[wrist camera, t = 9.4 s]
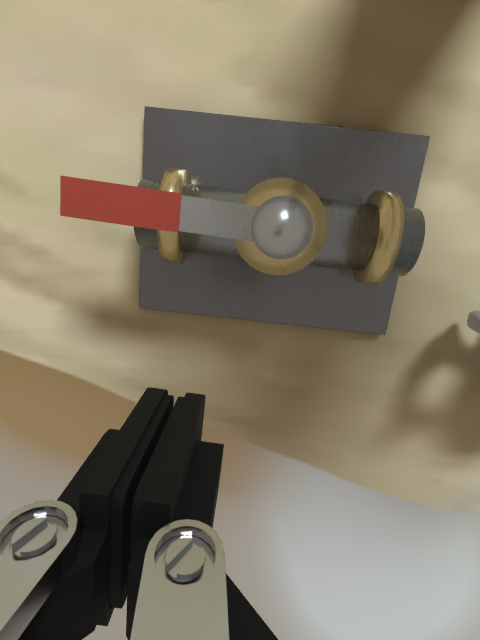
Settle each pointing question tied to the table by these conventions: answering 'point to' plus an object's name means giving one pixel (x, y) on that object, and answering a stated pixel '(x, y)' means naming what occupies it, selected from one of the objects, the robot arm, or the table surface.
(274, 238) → the lever
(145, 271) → the valve body
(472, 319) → the mug
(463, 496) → the table surface
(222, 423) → the table surface
